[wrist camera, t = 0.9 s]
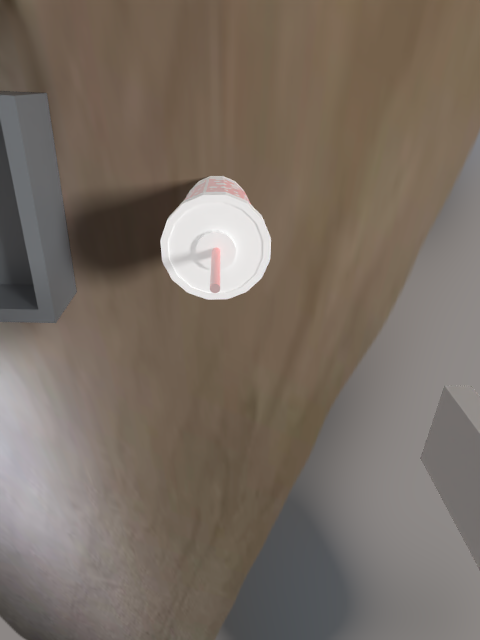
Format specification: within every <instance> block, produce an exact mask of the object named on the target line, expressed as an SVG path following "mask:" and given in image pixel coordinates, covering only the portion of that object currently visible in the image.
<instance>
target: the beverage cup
mask: <svg viewBox="0 0 480 640" xmlns="http://www.w3.org/2000/svg"><path fill="white" fill-rule="evenodd" d="M160 243H161V254H162V262H163V264H164V266H165V267H166V269H167V271H168V273H169V275H170V277H171V279H172V280H173V281H174V282H176V283H177V284H178V285H179V286H180V287H182V288H183V289H184V290H185V291H186V292H188V293H190V294H193V295H196V296H199V297H202V298H204V299H229V298H232V297H234V296H237V295H240V294H242V293H245V292H247V291H248V290H249V289H250V288H251V287H252V286H253V285H255V284H256V283H257V282H258V281H259V280H260V279H261V278H262V276H263V274H264V272H265V270H266V268H267V265H268V263H269V261H270V252H271V238H270V235H269V232H268V230H267V227H266V225H265V222H264V220H263V217H262V216H261V214H260V213H259V212H258V211H257V210H256V209H255V208H254V207H253V206H252V205H251V204H250V202H249V200H248V198H247V196H246V194H245V192H244V190H243V189H242V188H241V187H240V186H239V185H238V184H237V183H236V182H235V181H233V180H231V179H229V178H226V177H224V176H209V177H207V178H205V179H203V180H200V181H198V182H197V184H196V185H195V186H194V187H193V188H192V189H191V190H190V191H189V193H188V195H187V196H186V198H185V200H184V201H183V202H182V203H181V204H180V205H179V206H178V207H177V208H176V210H175V211H174V212H173V213H172V214H171V215H170V216H169V218H168V219H167V222H166V225H165V228H164V231H163V234H162V237H161V240H160Z"/></svg>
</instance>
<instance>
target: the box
mask: <svg viewBox="0 0 480 640" xmlns="http://www.w3.org/2000/svg"><path fill="white" fill-rule="evenodd" d="M76 292H77V291H76V284H75V278H74V271H73V264H72V258H71V251H70V244H69V238H68V231H67V224H66V218H65V211H64V205H63V198H62V191H61V185H60V178H59V171H58V165H57V158H56V151H55V145H54V138H53V132H52V125H51V118H50V112H49V105H48V98H47V93H32V92H10V91H0V322H39V323H56V322H57V320H58V319H59V317H60V316H61V314H62V313H63V312H64V310H65V309H66V307H67V306H68V304H69V303H70V301H71V300H72V298H73V297H74V295H75V294H76Z"/></svg>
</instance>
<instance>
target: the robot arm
mask: <svg viewBox="0 0 480 640" xmlns="http://www.w3.org/2000/svg"><path fill="white" fill-rule="evenodd" d="M421 460H422V462H423V464H424V466H425V468H426V469H427V471H428V473H429V475H430V476H431V479H432V481H433V483H434V484H435V486H436V488H437V490H438V492H439V494H440V496H441V498H442V500H443V502H444V504H445V505H446V507H447V509H448V511H449V513H450V515H451V517H452V519H453V521H454V522H455V524H456V526H457V528H458V530H459V532H460V534H461V536H462V537H463V539H464V541H465V543H466V545H467V547H468V549H469V550H470V553H471V554H472V556H473V558H474V560H475V562H476V564H477V566H478V568H479V570H480V396H479V395H478V393H477V392H476V391H475V390H474V389H473V387H472V386H444V389H443V392H442V395H441V398H440V401H439V404H438V407H437V410H436V413H435V416H434V419H433V422H432V425H431V428H430V431H429V434H428V437H427V440H426V443H425V446H424V449H423V452H422V455H421Z"/></svg>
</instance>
